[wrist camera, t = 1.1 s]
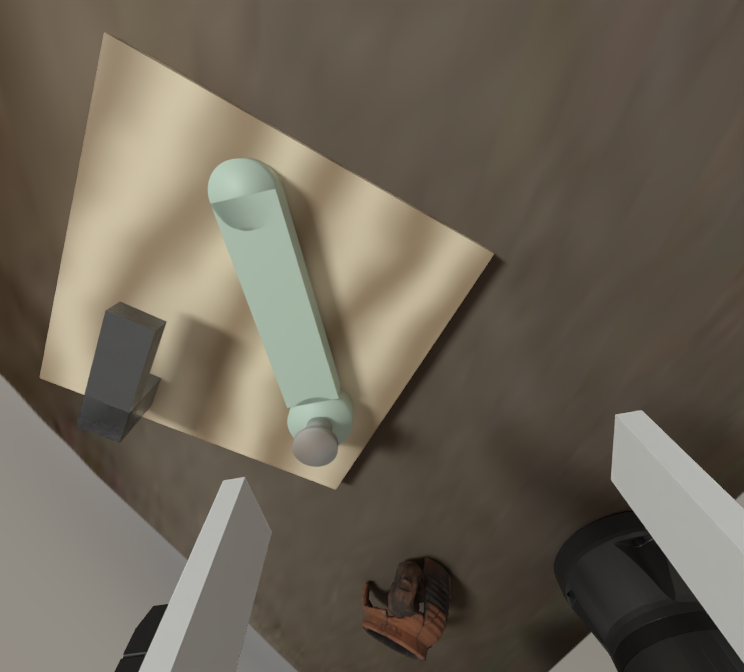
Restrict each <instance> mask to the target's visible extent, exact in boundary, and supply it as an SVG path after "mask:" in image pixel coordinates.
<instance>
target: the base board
mask: <svg viewBox="0 0 744 672" xmlns="http://www.w3.org/2000/svg"><path fill="white" fill-rule="evenodd" d="M238 158H253V159H257V160H260V161H262V162H264V163H266V164H267V165H268V166H270V167H271V168H272V169H273V170H274V171H275V173H276V174H277V175H278V177H279V179H280V181H281V183H282V186H283V190H284V193H285V196H286V200H287V203H288V207H289V210H290V214H291V217H292V220H293V224H294V227H295V231H296V234H297V237H298V241H299V244H300V248H301V251H302V254H303V258H304V261H305V265H306V268H307V271H308V275H309V278H310V282H311V285H312V289H313V292H314V295H315V299H316V302H317V306H318V309H319V312H320V316H321V319H322V323H323V326H324V329H325V333H326V336H327V340H328V343H329V346H330V350H331V353H332V357H333V360H334V364H335V367H336V370H337V374H338V377H339V381H340V388H341V389H342V390H344V391H345V392H346V393H347V394H348V396H349V397H350V399H351V401H352V403H353V421H352V430H351V433H350V435H349V437H348V438H347V439H346V440H345V441H344V442H343V443H342V444H340V445H338V440H337V437H336V436H335V434H334V433H333V432H332V424H331V423H330V422H329V421H328V420H327V419H325V418H322V417H315V418H312V419H310V420H309V421H308V422H307V424H306V428H304V429H302V430H300V431H299V432H298V433H297V434H296V436H295V438H294V437H293V436H292V435H291V433H290V431H289V429H288V425H287V419H288V415H289V411H290V408H291V407H290V408H287V406H286V404H285V401H284V398H283V396H282V393H281V390H280V388H279V385H278V382H277V380H276V377H275V374H274V372H273V369H272V366H271V364H270V361H269V358H268V356H267V353H266V351H265V348H264V345H263V343H262V340H261V337H260V335H259V332H258V329H257V327H256V324H255V321H254V319H253V316H252V313H251V311H250V308H249V305H248V303H247V300H246V297H245V295H244V292H243V289H242V287H241V284H240V281H239V279H238V276H237V273H236V271H235V268H234V265H233V263H232V260H231V257H230V255H229V252H228V249H227V247H226V244H225V241H224V239H223V236H222V233H221V231H220V228H219V226H218V223H217V220H216V218H215V215H214V212H213V210H212V207H211V204H210V201H209V197H208V182H209V179H210V176H211V174H212V172H213V171H214V169H215V168H216V167H217V166H218V165H220V164H221V163H223V162H225V161H227V160H230V159H238ZM493 255H494V253H493V252H492V251H490V250H489V249H488V248H486V247H484V246H483V245H481V244H479V243H477V242H476V241H474V240H472V239H470V238H469V237H467V236H465V235H463V234H462V233H460V232H458V231H456V230H455V229H453V228H451V227H449V226H448V225H446V224H444V223H442V222H441V221H439V220H437V219H435V218H434V217H432V216H430V215H428V214H426V213H425V212H423V211H421V210H419V209H418V208H416V207H414V206H412V205H411V204H409V203H407V202H405V201H404V200H402V199H400V198H398V197H397V196H395V195H393V194H391V193H390V192H388V191H386V190H384V189H383V188H381V187H379V186H377V185H376V184H374V183H372V182H370V181H369V180H367V179H365V178H363V177H362V176H360V175H358V174H356V173H355V172H353V171H351V170H349V169H348V168H346V167H344V166H342V165H340V164H339V163H337V162H335V161H333V160H332V159H330V158H328V157H326V156H325V155H323V154H321V153H319V152H318V151H316V150H314V149H312V148H311V147H309V146H307V145H305V144H304V143H302V142H300V141H298V140H297V139H295V138H293V137H291V136H290V135H288V134H286V133H284V132H283V131H281V130H279V129H277V128H276V127H274V126H272V125H270V124H269V123H267V122H265V121H263V120H261V119H260V118H258V117H256V116H254V115H253V114H251V113H249V112H247V111H246V110H244V109H242V108H240V107H239V106H237V105H235V104H233V103H232V102H230V101H228V100H226V99H225V98H223V97H221V96H219V95H218V94H216V93H214V92H212V91H211V90H209V89H207V88H205V87H204V86H202V85H200V84H198V83H197V82H195V81H193V80H191V79H190V78H188V77H186V76H184V75H183V74H181V73H179V72H177V71H175V70H174V69H172V68H170V67H168V66H167V65H165V64H163V63H161V62H160V61H158V60H156V59H154V58H153V57H151V56H149V55H147V54H146V53H144V52H142V51H140V50H139V49H137V48H135V47H133V46H132V45H130V44H128V43H126V42H125V41H123V40H121V39H119V38H117V37H115V36H112V35H110V34H108V33H105V32H104V36H103V41H102V46H101V52H100V57H99V62H98V68H97V73H96V79H95V84H94V89H93V95H92V100H91V105H90V111H89V116H88V121H87V127H86V132H85V137H84V143H83V148H82V154H81V159H80V164H79V170H78V175H77V180H76V186H75V191H74V196H73V202H72V207H71V213H70V218H69V223H68V229H67V234H66V239H65V245H64V250H63V255H62V261H61V266H60V272H59V277H58V282H57V288H56V293H55V298H54V304H53V309H52V314H51V320H50V325H49V331H48V336H47V341H46V347H45V352H44V357H43V363H42V368H41V373H40V378H41V379H44V380H46V381H49V382H52V383H54V384H57V385H60V386H62V387H65V388H68V389H70V390H73V391H76V392H78V393H81V394H85V390H86V386H87V382H88V378H89V374H90V370H91V366H92V362H93V358H94V354H95V350H96V346H97V342H98V338H99V334H100V330H101V326H102V322H103V318H104V314H105V310H107V309H108V308H110V307H112V306H113V305H115V304H117V303H118V302H123V303H125V304H127V305H130V306H132V307H134V308H137V309H139V310H141V311H144V312H146V313H148V314H150V315H153V316H155V317H157V318H160V319H162V320H164V321H167V322H166V325H165V328H164V331H163V334H162V338H161V341H160V344H159V347H158V350H157V353H156V356H155V359H154V362H153V365H152V368H151V371H150V374H153V375H155V376H158V377H160V378H161V380H160V383H159V386H158V389H157V392H156V395H155V397H154V400H153V403H152V406H151V407H150V408H149V409H148V410H147V412H146V413H145V414H144V415H143V416H142V417H145V418H147V419H150V420H153V421H155V422H158V423H160V424H163V425H166V426H168V427H171V428H174V429H176V430H179V431H182V432H184V433H187V434H190V435H192V436H195V437H198V438H200V439H203V440H206V441H208V442H211V443H214V444H216V445H219V446H221V447H224V448H227V449H229V450H232V451H235V452H237V453H240V454H243V455H245V456H248V457H251V458H253V459H256V460H259V461H261V462H264V463H267V464H269V465H272V466H275V467H277V468H280V469H282V470H285V471H288V472H290V473H293V474H296V475H298V476H301V477H304V478H306V479H309V480H312V481H314V482H317V483H320V484H322V485H325V486H328V487H330V488H333V489H337V487H338V486H339V484H340V483H341V481H342V480H343V478H344V477H345V475H346V474H347V472H348V471H349V469H350V468H351V466H352V465H353V463H354V462H355V460H356V459H357V457H358V456H359V454H360V453H361V451H362V450H363V448H364V447H365V445H366V444H367V442H368V441H369V439H370V438H371V437H372V435H373V434H374V432H375V431H376V429H377V428H378V426H379V425H380V423H381V422H382V420H383V419H384V417H385V416H386V414H387V413H388V411H389V410H390V408H391V407H392V405H393V404H394V402H395V401H396V399H397V398H398V396H399V395H400V393H401V392H402V390H403V389H404V387H405V386H406V384H407V383H408V381H409V380H410V379H411V377H412V376H413V374H414V373H415V371H416V370H417V368H418V367H419V365H420V364H421V362H422V361H423V359H424V358H425V356H426V355H427V353H428V352H429V350H430V349H431V347H432V346H433V344H434V343H435V341H436V340H437V338H438V337H439V335H440V334H441V332H442V331H443V329H444V328H445V326H446V325H447V323H448V322H449V321H450V319H451V318H452V316H453V315H454V313H455V312H456V310H457V309H458V307H459V306H460V304H461V303H462V301H463V300H464V298H465V297H466V295H467V294H468V292H469V291H470V289H471V288H472V286H473V285H474V283H475V282H476V280H477V279H478V277H479V276H480V274H481V273H482V271H483V270H484V268H485V267H486V265H487V264H488V263H489V261H490V260H491V258H492V257H493Z"/></svg>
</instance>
